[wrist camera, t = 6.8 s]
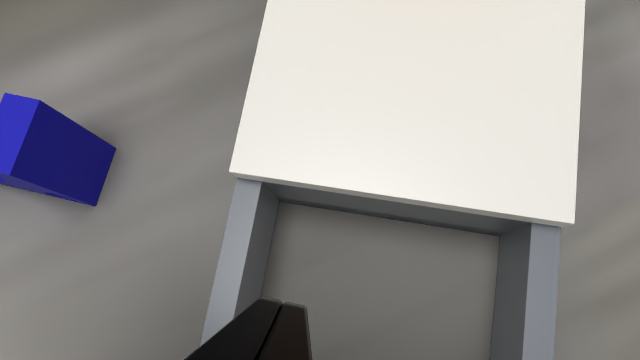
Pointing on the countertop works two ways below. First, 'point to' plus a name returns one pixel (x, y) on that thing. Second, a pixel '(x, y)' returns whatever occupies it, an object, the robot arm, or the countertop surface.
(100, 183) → the cable clip
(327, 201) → the frame
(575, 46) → the lid
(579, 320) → the countertop surface
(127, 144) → the countertop surface
